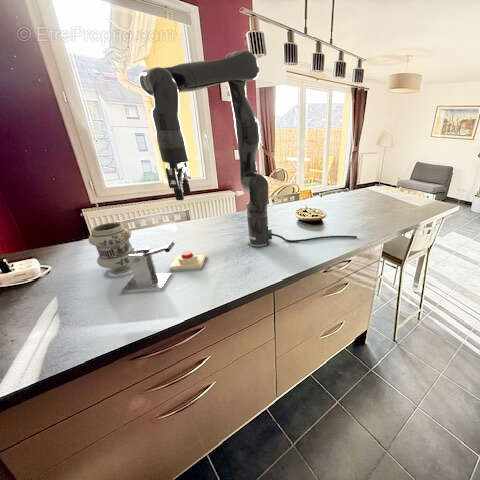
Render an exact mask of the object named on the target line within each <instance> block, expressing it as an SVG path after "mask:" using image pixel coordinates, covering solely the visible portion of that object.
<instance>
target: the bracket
mask: <svg viewBox="0 0 480 480" xmlns="http://www.w3.org/2000/svg"><path fill="white" fill-rule="evenodd" d="M133 251H134V254H129V255H128V259H129V262H130V265H131V268H132V269H131V271H132V274H133V277H132V278H131V279H130V280H129V281H128V283H126V285H125V286H124V287H123V288H122V289H121V292H128V291H129V292H131V291H141V290H142V291H143V290H155V289H163V288H164V286H165V285H166V283H167V281H168V280H169V278H170V277H171V275H172V273H171V272H168V273H157V270H156V266H155V264H154V259H153V255H150V256H148V257H147V258H146V259H145V255H144V254H135V253H139V252H142V251H144V252H145V253H147V252H150V251H151V248H149V247H145V248H143V247H142V248H141V247H140V248H134V250H133Z"/></svg>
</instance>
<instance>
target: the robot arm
mask: <svg viewBox="0 0 480 480" xmlns="http://www.w3.org/2000/svg"><path fill="white" fill-rule="evenodd" d="M259 74H260V64H259V61H258V58H257V57H256V55H255V54H253V52H252V51H249V50H247V49H240V50H236V51H235V50H234V51H231V52H229V53H227V54H226V55H225V57H224V58H219V59H211V60H200V61H199V60H198V61H190V62H183V63H179V64H175V65H173V66H167V67H161V66H157V67H151V68H147V69H145V70H142V72H140V74H139V78H138V82H139V85H140V87H141V89H142V90H143V92H144V93H145V94H146V95H147V96H150V97H152V98H153V102H154V107H153V108H151V118H152V122H153V126H154V129H155V137H156V142H157V145H158V150H159V154H160V158H161V161H162V162H163V163H166V164H169V165H168V166H169V167H166V168H165V174H166V178H167V182H168V187H169V189H172V190H173V193H174V197H175V200H176V201H183V200H184V199H185V197H184V195H187V194H188V195H189V194H191V193H192V190H191V186H190V182H191V181H190V180H191V174H190V169H189V164H188V161H189V160H190V158H189V154H188V153H189V152H188V148H187V143H186V139H185V134H184V132H183V127H182V122H181V119H180V93H187V92H188V93H189V92H194V91H195V92H196V91H199V90H203V89H206V88H210V87H213V86H217V85H221V84H224V83H227V85H228V91H229V95H230V101H231V108H232V113H233V121H234V130H235V138H236V143H237V150H238V151H237V153H238V159H239V171H240V172H239V173H240V175H239V176H240V177H239V178H240V185H241V188H242V189H243V190H244V191H245V192H246V193H248V194H249V201H247V202H246V203H245V209H246V221H247V231H248V243H249V245H250V246H251V247H254V248H261V247H266V246H270V240H273V237H277V238H280V239H282V240H283V241H284V242H287V243H298V242H309V241H313V240H321V239H333V238H334V239H335V238H347V239H357V238H358V237H357V236H356V235H326V236H323V235H322V236H316V237H309V238H303V239H287V238H285V237H284V236H282V235H279V234H278V233H277V234H276V233H273V232H272V228H271V229H270V228H269V218H268V217H269V216H268V204H269V199H270V197H269V196H270V195H269V191H270V190H269V182H268V181H269V180H268V179H267V177H266V176H265V175H264V174H260V173H258V169H257V154H258V150H259V148H260V143H261V133H260V125H259V124H260V123H259V120H258V117H257V116H256V112H255V111H254V108H252V105H251V103H250V100H249V98H248V92H247V83H250V82H253V81H254V80H256V79H257V78H258V76H259Z"/></svg>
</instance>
